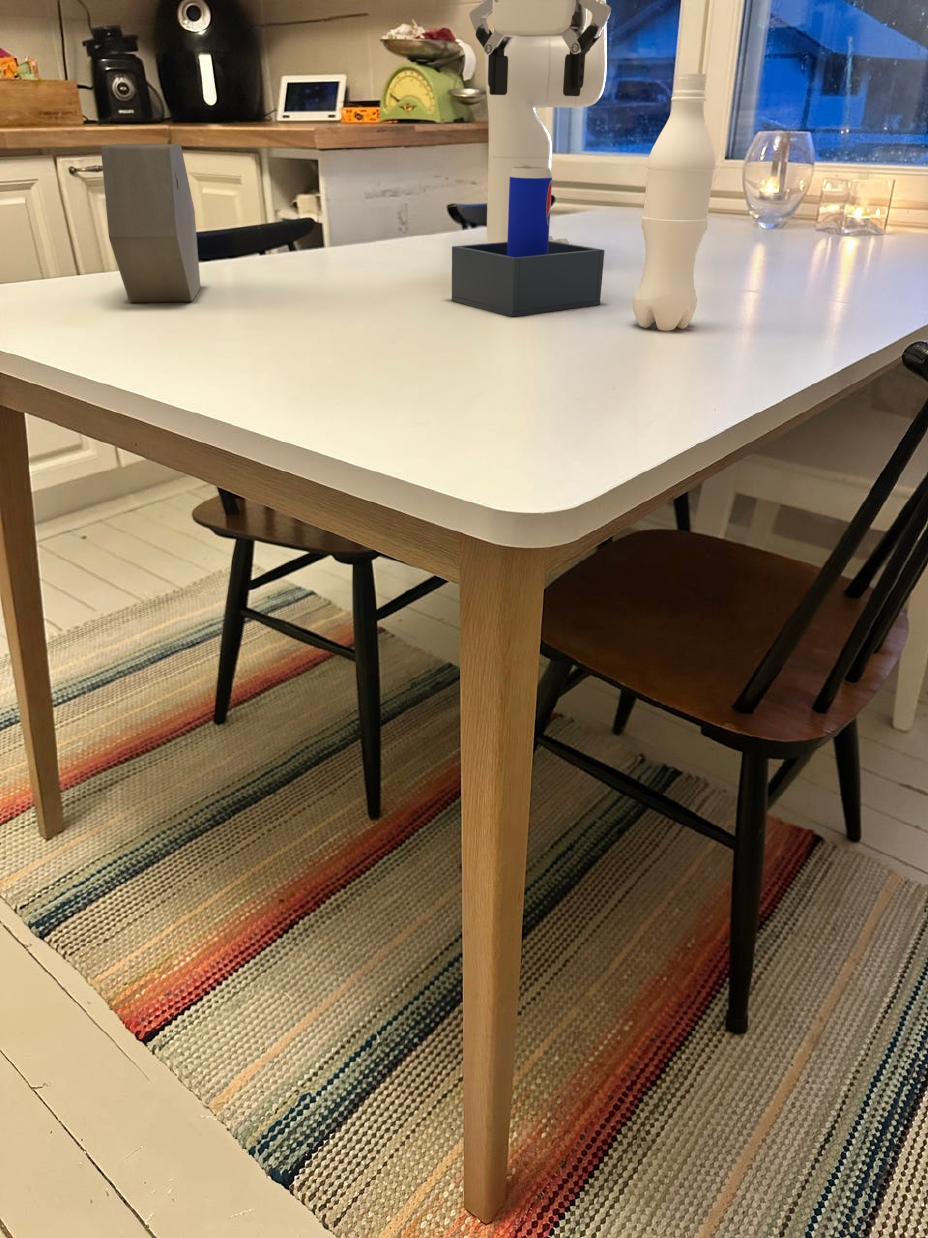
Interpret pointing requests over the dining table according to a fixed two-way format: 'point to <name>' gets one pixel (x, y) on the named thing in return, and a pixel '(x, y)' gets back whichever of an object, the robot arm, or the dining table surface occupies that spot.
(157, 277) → the planter
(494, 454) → the dining table surface
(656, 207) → the water bottle
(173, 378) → the dining table surface
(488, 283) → the tub
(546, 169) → the beverage can
